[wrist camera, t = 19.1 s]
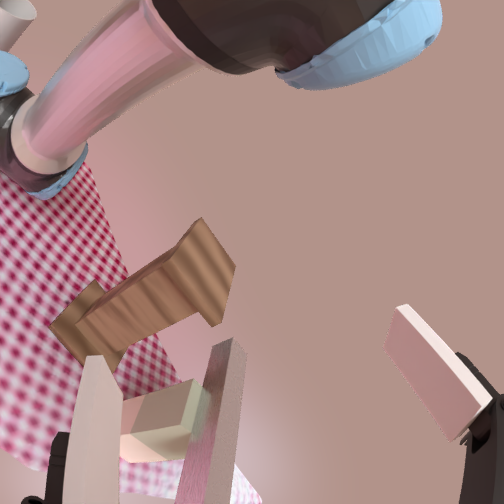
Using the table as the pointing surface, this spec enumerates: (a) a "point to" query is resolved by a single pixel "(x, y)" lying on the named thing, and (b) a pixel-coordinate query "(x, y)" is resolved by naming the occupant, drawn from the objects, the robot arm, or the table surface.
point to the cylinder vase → (14, 21)
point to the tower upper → (168, 419)
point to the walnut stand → (149, 299)
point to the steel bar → (215, 429)
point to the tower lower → (130, 445)
